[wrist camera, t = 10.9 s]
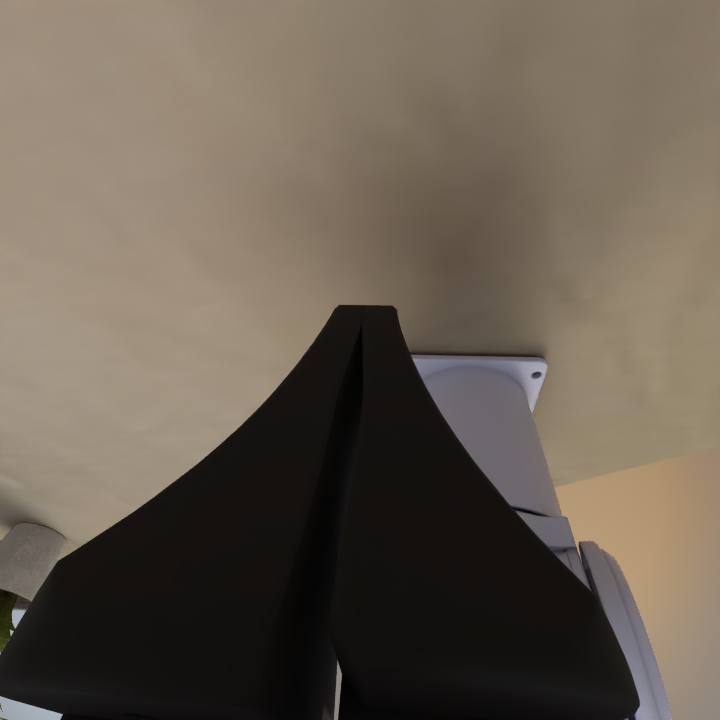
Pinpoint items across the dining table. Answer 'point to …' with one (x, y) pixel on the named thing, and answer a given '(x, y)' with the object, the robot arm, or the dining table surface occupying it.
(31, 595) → the house plant
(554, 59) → the dining table surface
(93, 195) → the dining table surface
